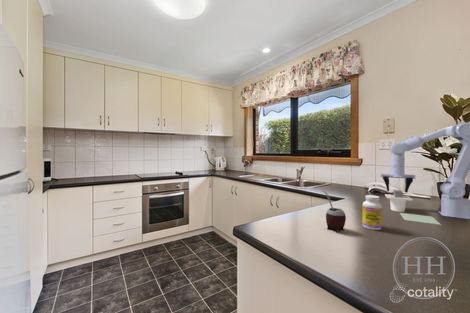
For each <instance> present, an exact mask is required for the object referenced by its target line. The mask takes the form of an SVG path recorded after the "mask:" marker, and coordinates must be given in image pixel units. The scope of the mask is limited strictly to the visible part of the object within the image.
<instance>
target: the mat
mask: <svg viewBox="0 0 470 313" xmlns="http://www.w3.org/2000/svg"><path fill="white" fill-rule="evenodd" d="M399 215H401V218H403V220H404V221H410V222H417V223H418V222H419V223H425V224H432V225H440V226H441V225H442V224H441V223H440V222H439V221H437V219H436V218H434V217H433V216H429V215H419V214H412V213H404V212H399Z"/></svg>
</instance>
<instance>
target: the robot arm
mask: <svg viewBox="0 0 470 313" xmlns="http://www.w3.org/2000/svg"><path fill="white" fill-rule="evenodd" d="M443 137H452V138H454V139H456V140H458V142H459V143H460V144H461V145H462V147H461V148H460V151H459V154H458V155H457V157H456V160H455V162H454V166H453V167H452V170H451V172H450V174H449V176H448V177H447V178H446V179H445V181H444V182H443V183H441V185H440V186H439V190H440V192H441V196H440V197H441V198H440V199H441V201H440V211H437V213H439V214H440V215H441V216H444V217H451V218H452V217H453V218H460V219H467V220H468V219H469V220H470V199H469V198H464V196H465V195H466V184H467V182H466V178H467V176H468V173H469V171H470V122H462V123H459V124H455V125H451V126H447V127H443V128H440V129H438V130H435V131H432V132H430V133H428V134H425V135H423V136H421V137H420V136H413V135H411V136H409V138H408V139H404V140H400V141H399V142H397V143H393V144H392V145H391V146H390V149H389V152H390V153H391V154H390V156H391V157H390V173H380V178H382V180H383V181H384V184H385V187H386V191H387V192H390V179H389V178H391V179H392V178H393V179H404V183H405V186H404V192H405V193H406V194H407V193H408V192H409V188H410V186H411V184H412V183H413V182H414V180H416V174H405V153H406V152H410V151H413V150H415V149H418V148H421V147H423V145H424V143H426V142H430V141H432V140H436V139H438V138H443Z"/></svg>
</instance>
